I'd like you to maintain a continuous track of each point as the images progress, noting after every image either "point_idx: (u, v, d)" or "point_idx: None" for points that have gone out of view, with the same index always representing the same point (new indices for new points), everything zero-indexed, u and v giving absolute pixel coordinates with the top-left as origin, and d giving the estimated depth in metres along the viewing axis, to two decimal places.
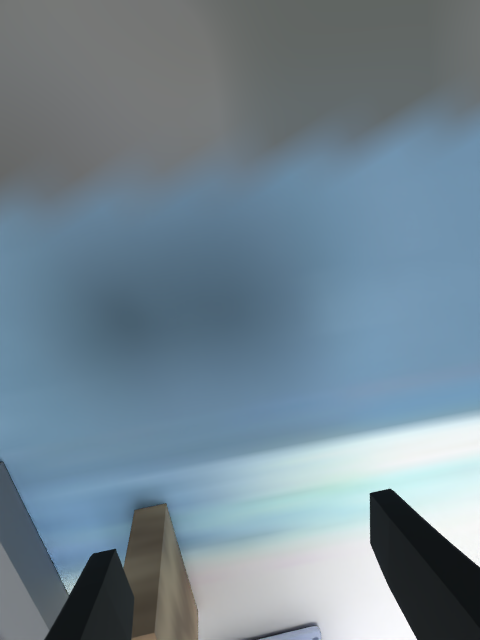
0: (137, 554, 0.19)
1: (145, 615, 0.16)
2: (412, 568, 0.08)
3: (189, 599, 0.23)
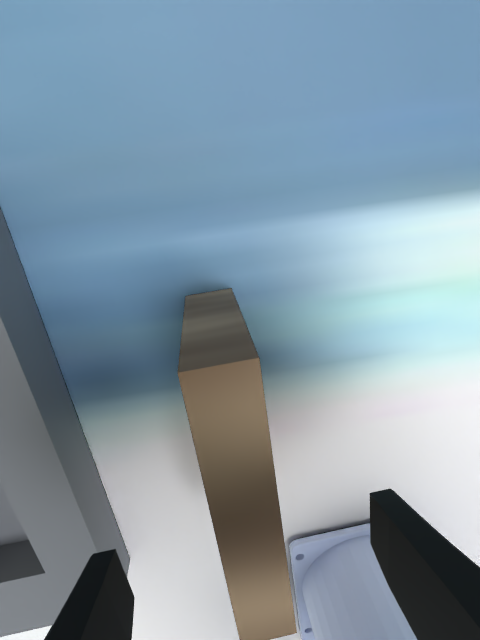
0: (201, 315, 0.12)
1: (235, 348, 0.09)
2: (412, 568, 0.08)
3: None
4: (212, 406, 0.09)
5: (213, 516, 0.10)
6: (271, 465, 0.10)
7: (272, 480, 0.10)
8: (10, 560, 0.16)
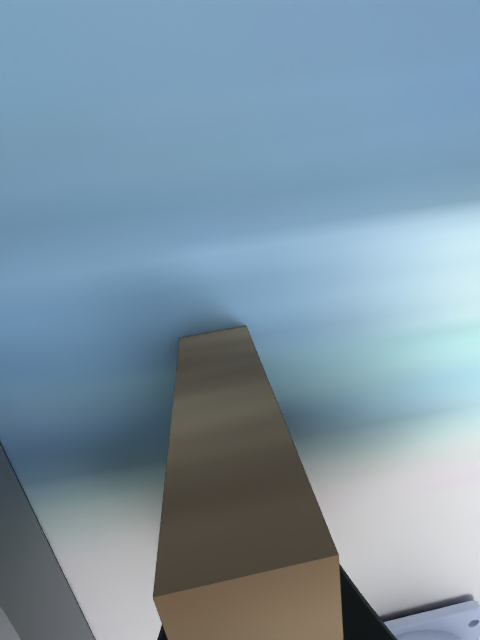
0: (204, 388, 0.07)
1: (277, 504, 0.04)
2: None
3: None
4: None
5: None
6: None
7: None
8: None
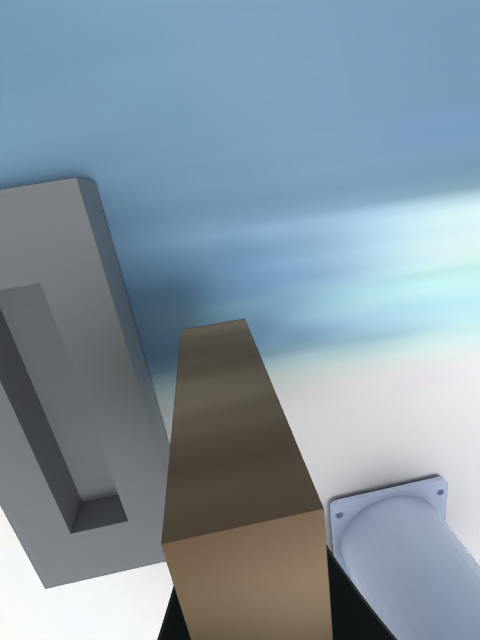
0: (205, 374, 0.08)
1: (270, 469, 0.05)
2: None
3: None
4: (229, 592, 0.05)
5: None
6: None
7: None
8: (94, 512, 0.19)
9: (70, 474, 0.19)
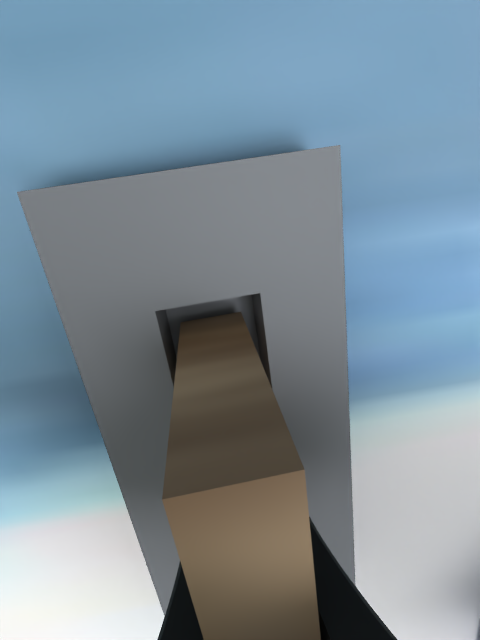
0: (202, 361, 0.08)
1: (259, 439, 0.05)
2: None
3: None
4: (222, 545, 0.05)
5: None
6: (315, 618, 0.06)
7: (315, 636, 0.06)
8: None
9: None
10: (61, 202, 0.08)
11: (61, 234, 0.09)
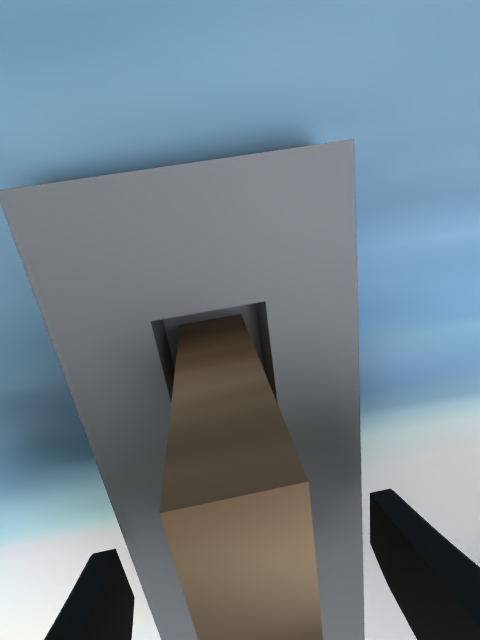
0: (202, 365, 0.08)
1: (261, 449, 0.05)
2: (412, 568, 0.08)
3: None
4: (223, 560, 0.05)
5: None
6: (318, 634, 0.06)
7: None
8: None
9: None
10: (45, 202, 0.08)
11: (46, 238, 0.08)
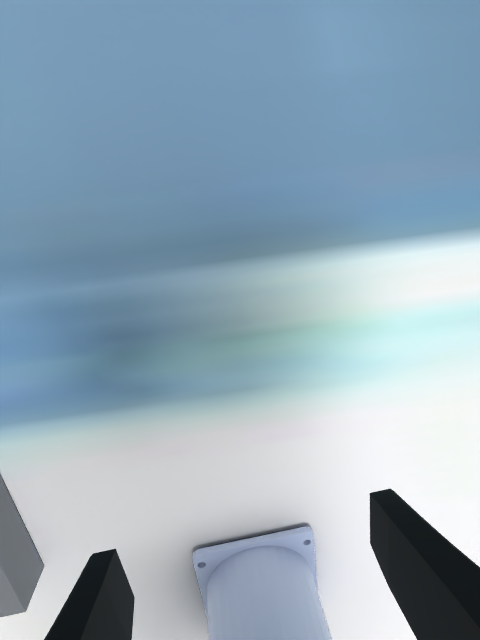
0: None
1: None
2: (412, 568, 0.08)
3: None
4: None
5: None
6: None
7: None
8: None
9: None
10: None
11: None
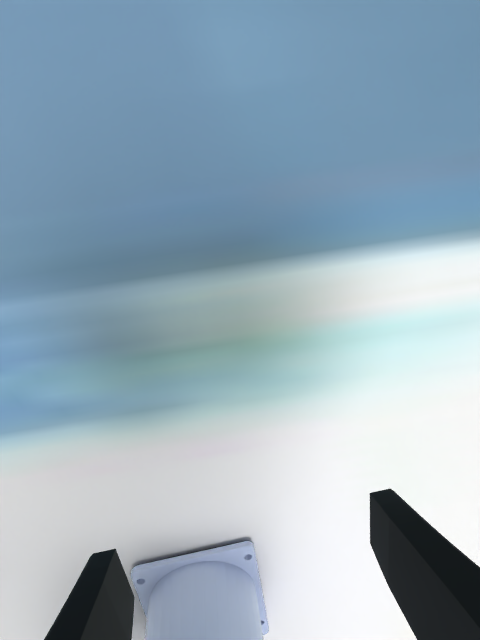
0: None
1: None
2: (412, 568, 0.08)
3: None
4: None
5: None
6: None
7: None
8: None
9: None
10: None
11: None
